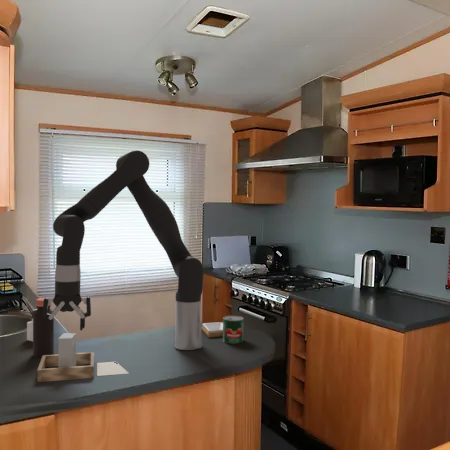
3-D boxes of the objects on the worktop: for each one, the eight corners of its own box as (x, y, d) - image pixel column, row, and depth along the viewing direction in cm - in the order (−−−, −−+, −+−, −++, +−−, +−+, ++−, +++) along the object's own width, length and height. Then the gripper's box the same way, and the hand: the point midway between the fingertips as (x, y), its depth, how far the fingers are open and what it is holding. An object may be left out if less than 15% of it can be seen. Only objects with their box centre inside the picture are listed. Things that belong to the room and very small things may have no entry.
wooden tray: (93, 363, 153) (94, 352, 153) (93, 379, 140) (93, 366, 140) (42, 367, 149) (42, 355, 149) (37, 383, 136) (37, 370, 135)
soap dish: (200, 334, 192) (200, 322, 191) (222, 333, 194) (223, 321, 194) (207, 343, 180) (207, 330, 179) (231, 341, 182) (231, 329, 182)
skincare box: (62, 369, 147) (63, 332, 147) (76, 369, 148) (76, 332, 147) (57, 376, 141) (57, 338, 141) (71, 376, 142) (72, 338, 141)
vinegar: (54, 352, 164) (55, 296, 164) (52, 358, 158) (52, 300, 157) (34, 353, 163) (34, 297, 162) (31, 359, 156) (31, 301, 155)
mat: (133, 362, 156) (133, 360, 156) (136, 374, 144) (136, 372, 144) (97, 364, 153) (97, 362, 153) (97, 377, 141) (97, 375, 141)
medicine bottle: (54, 339, 181) (54, 308, 180) (38, 343, 175) (38, 312, 174) (42, 336, 184) (42, 306, 184) (26, 340, 178) (26, 309, 178)
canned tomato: (236, 342, 181) (236, 314, 181) (247, 347, 175) (247, 318, 174) (218, 345, 177) (219, 316, 177) (229, 350, 170) (229, 321, 170)
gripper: (91, 276, 149) (90, 326, 150) (44, 277, 145) (44, 328, 146) (91, 280, 142) (90, 332, 142) (42, 281, 138) (41, 334, 139)
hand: (66, 330), depth 144 cm, fingers open, 8 cm apart
